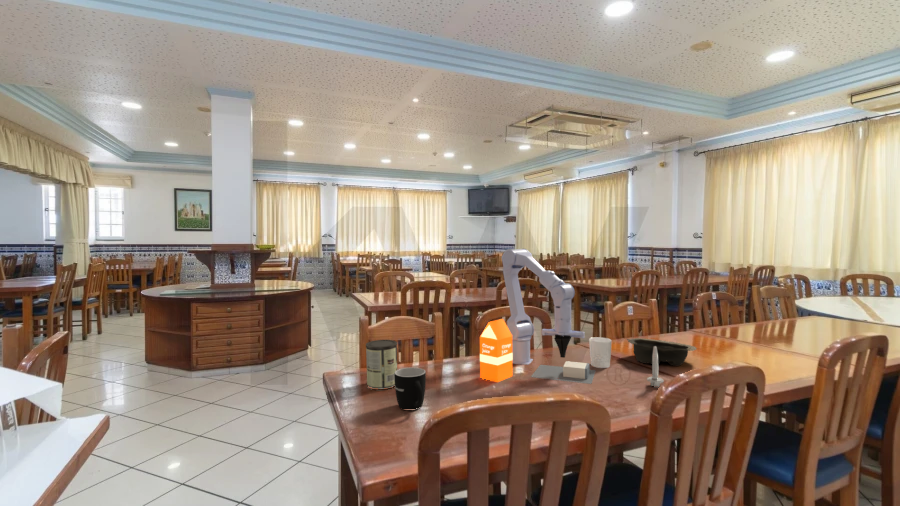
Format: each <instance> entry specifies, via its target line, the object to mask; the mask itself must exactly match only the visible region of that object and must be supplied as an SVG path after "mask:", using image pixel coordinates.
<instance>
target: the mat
mask: <svg viewBox="0 0 900 506" xmlns="http://www.w3.org/2000/svg"><path fill="white" fill-rule="evenodd" d="M596 371H597V369H596V370H595V369H590V373H589V376H588V379H581V378H572V377H563V366H558V365H557V366H556V365H549V364H547V365H546V364H540V365H538V366H537V368H536V369H535V371H534V372H533V373H532V374H531V376H530V378H534V379H535V378H536V379H544V380H552V381H561V382H569V383H579V384H581V383H582V384H588V385H592V383H593V379H594V377H595V374H596Z"/></svg>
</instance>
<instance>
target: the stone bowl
mask: <svg viewBox="0 0 900 506" xmlns="http://www.w3.org/2000/svg"><path fill="white" fill-rule="evenodd" d="M626 340H627V342H628V343H630V344H631V345H633V355H634V356H635V360H636V361H637V362H639V361H640V362H639V363H642V364H652V363H653V362H652V361H653V357H652V356H653V355H652V354H653V349H654V346H656V347H657V353H658V365H659V364H660V363H661V362H664V363H666V362H667V363H668V364H669V365H670V366H672V365H673V367H675V366H676V367H677V366H678V367H679V366H681V365H683V364H684V363H685V361H686V359H687V357H688V354H689V352H690V351H691V352H694V351H696V350H697V349H698V348H697V347H696V346H695V345H690V344H686V343H680V342H675V341H666V340H661V339H654V338H653V339H651V338H642V337H641V338H640V337H636V338H628V337H626ZM652 365H653V364H652Z"/></svg>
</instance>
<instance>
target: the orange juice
mask: <svg viewBox="0 0 900 506" xmlns="http://www.w3.org/2000/svg"><path fill="white" fill-rule="evenodd" d="M512 360H513V353H512V334H511V332H510V330H509V329H508V327H507V322H506V321H505V320H504V318H500V319H496V320H491V321H488V322H487V324H486V326H485V328H484V330H483V331H482V333H481V334H480V336H479V379H480V378H482V379H481V380H484V379H486V380H485V381H487V380H490V381H489V382H495V383H499V382H501V381H502V382H503V381H504V380H506V379H509V378H513V374H514V373H513V372H514V371H513V367H514V366H513V362H512Z"/></svg>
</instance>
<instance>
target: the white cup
mask: <svg viewBox="0 0 900 506" xmlns="http://www.w3.org/2000/svg"><path fill="white" fill-rule="evenodd" d="M588 342H589V343H588V344H589V358H590V365H591V367H594V368H598V369H608V368H610V367H611V358H612V357H611V356H612V339H610V338H608V337H602V336H601V337H599V336H598V337H597V336H595V337H590V338H588Z"/></svg>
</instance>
